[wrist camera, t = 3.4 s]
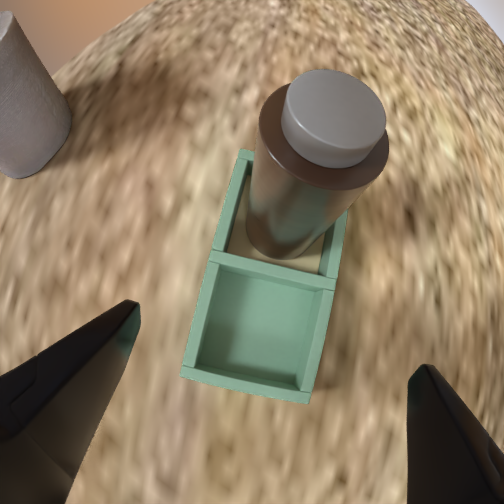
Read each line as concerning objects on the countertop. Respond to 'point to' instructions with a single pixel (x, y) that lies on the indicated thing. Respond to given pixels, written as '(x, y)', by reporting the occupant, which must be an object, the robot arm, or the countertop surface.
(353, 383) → the countertop surface
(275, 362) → the caddy
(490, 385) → the countertop surface
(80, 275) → the countertop surface
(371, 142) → the pepper mill
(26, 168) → the pillar candle
